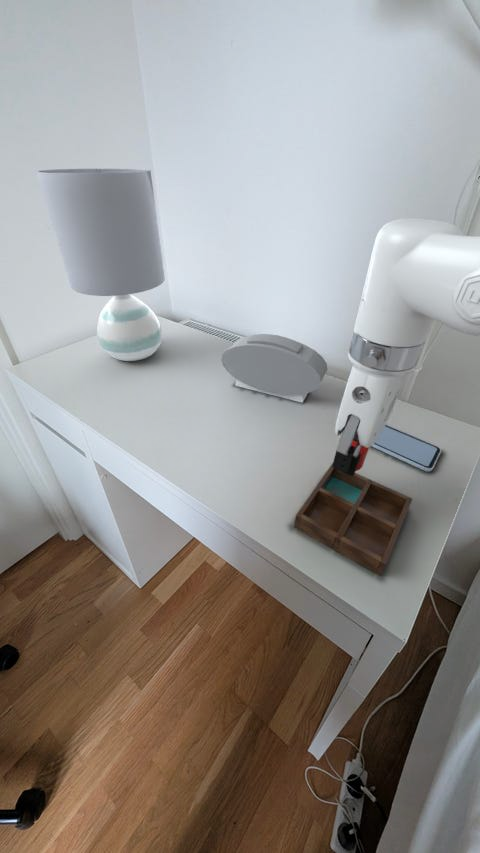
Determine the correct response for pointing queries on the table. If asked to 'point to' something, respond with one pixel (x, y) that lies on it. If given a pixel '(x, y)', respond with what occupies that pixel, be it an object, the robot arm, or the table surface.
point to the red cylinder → (363, 454)
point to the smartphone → (407, 448)
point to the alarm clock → (275, 366)
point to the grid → (354, 517)
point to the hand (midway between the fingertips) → (349, 460)
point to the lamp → (110, 249)
